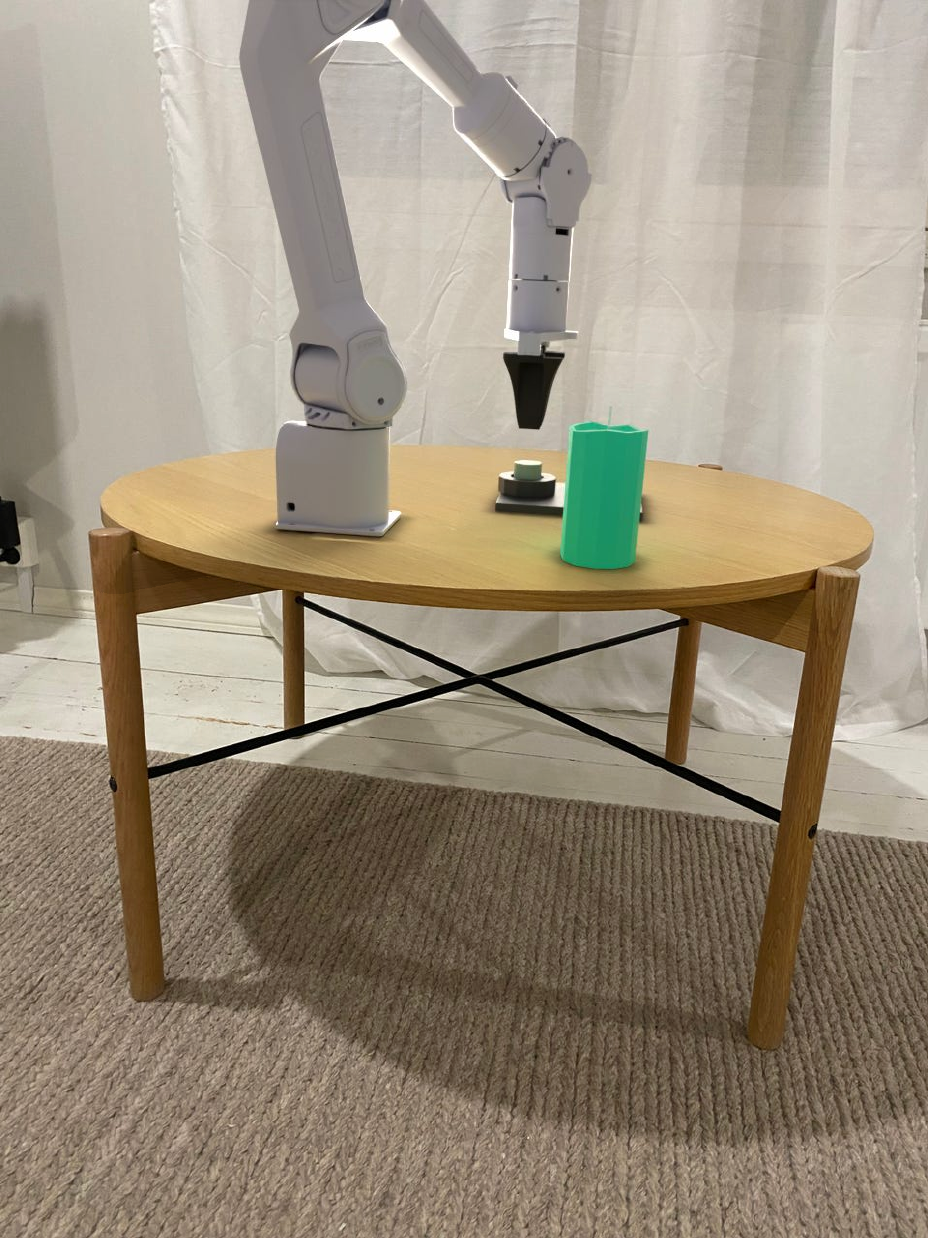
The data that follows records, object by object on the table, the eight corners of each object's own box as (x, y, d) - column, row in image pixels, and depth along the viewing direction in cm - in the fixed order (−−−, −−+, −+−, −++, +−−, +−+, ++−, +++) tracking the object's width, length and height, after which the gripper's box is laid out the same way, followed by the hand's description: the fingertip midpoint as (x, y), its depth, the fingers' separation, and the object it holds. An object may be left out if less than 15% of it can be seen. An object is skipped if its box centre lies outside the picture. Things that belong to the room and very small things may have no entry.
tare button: (512, 481, 92) (513, 463, 91) (514, 476, 95) (515, 459, 94) (540, 483, 92) (541, 465, 91) (542, 477, 94) (543, 460, 94)
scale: (491, 511, 89) (492, 485, 88) (504, 487, 100) (505, 464, 99) (642, 521, 87) (644, 495, 86) (638, 495, 98) (641, 472, 97)
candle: (633, 572, 71) (650, 413, 67) (556, 565, 72) (567, 408, 68) (635, 552, 76) (651, 404, 72) (563, 545, 77) (574, 400, 73)
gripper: (579, 281, 79) (567, 439, 84) (584, 283, 93) (573, 419, 97) (498, 278, 80) (490, 435, 85) (514, 280, 94) (507, 416, 98)
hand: (530, 427), depth 91 cm, fingers closed
